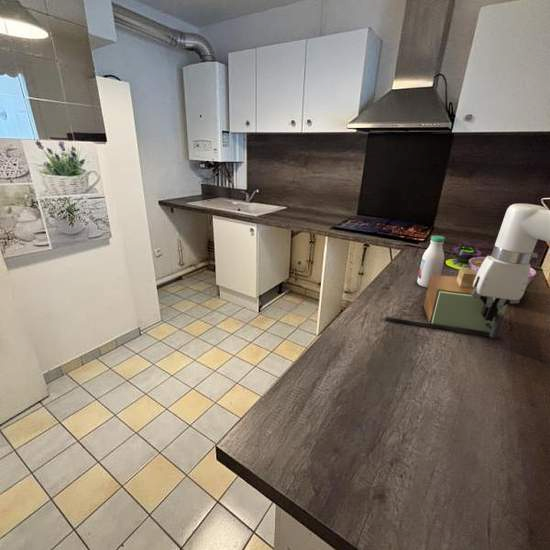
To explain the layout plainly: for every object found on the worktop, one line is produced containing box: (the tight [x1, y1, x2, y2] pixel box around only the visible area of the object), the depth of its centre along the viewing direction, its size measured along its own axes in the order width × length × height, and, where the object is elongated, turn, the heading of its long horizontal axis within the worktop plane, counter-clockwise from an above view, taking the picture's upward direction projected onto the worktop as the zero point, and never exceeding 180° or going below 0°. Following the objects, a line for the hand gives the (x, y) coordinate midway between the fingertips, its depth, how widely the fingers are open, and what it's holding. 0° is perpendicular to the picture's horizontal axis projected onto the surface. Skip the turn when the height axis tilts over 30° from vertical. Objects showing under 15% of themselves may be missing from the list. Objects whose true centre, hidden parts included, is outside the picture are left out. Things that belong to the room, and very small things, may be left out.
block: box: [456, 268, 478, 288], centre depth 88 cm, size 4×4×4 cm
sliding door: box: [432, 291, 509, 339], centre depth 83 cm, size 17×7×11 cm, turn 72°
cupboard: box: [385, 274, 501, 339], centre depth 92 cm, size 31×14×12 cm, turn 72°
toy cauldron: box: [445, 241, 481, 270], centre depth 137 cm, size 15×15×11 cm
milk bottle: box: [416, 235, 446, 289], centre depth 114 cm, size 8×8×20 cm
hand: (486, 318), depth 79 cm, fingers closed
